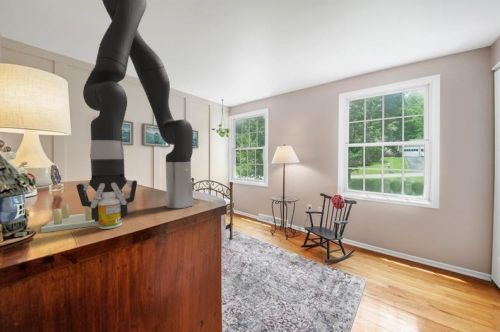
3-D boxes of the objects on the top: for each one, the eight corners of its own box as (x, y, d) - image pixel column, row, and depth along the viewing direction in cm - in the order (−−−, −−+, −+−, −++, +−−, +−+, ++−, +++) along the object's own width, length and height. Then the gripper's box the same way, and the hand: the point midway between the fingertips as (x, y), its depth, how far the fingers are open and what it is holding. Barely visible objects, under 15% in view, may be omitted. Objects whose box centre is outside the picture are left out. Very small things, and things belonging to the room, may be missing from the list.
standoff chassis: (104, 215, 69) (104, 199, 69) (98, 225, 59) (98, 206, 59) (57, 220, 64) (56, 203, 64) (41, 232, 53) (40, 212, 53)
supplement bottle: (97, 225, 58) (96, 191, 58) (120, 221, 61) (119, 189, 61) (99, 231, 54) (98, 193, 53) (123, 226, 57) (122, 191, 57)
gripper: (137, 157, 64) (139, 212, 64) (78, 158, 57) (80, 219, 58) (137, 157, 57) (139, 218, 58) (70, 158, 50) (73, 227, 51)
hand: (110, 218), depth 58 cm, fingers closed on supplement bottle, 5 cm apart
